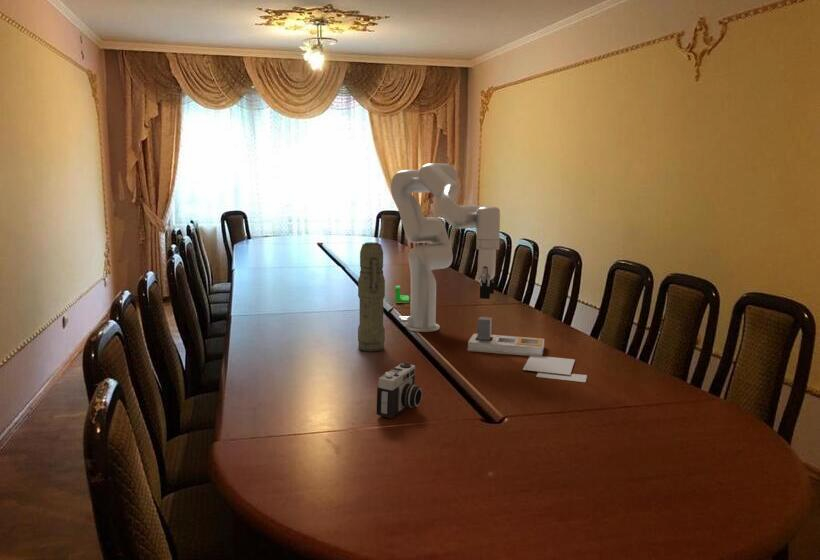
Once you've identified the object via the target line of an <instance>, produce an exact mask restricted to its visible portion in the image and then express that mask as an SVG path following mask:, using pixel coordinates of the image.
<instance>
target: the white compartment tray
mask: <svg viewBox="0 0 820 560" xmlns="http://www.w3.org/2000/svg"><path fill="white" fill-rule="evenodd" d="M544 349H545V338H540V337H539V338H538V337H525V336H515V335H499V334H491V341H481V340H478V333H473V334H472V336H470V338H469V340H468V343H467V351H468V352H479V353H489V354H491V353H492V354H499V355H501V354H503V355H512V356H513V355H514V356H527V357H530V355H536V356H543V354H544Z"/></svg>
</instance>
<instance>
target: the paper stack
mask: <svg viewBox="0 0 820 560" xmlns="http://www.w3.org/2000/svg"><path fill="white" fill-rule="evenodd" d="M575 362H576V359H573V358H563V357H553V356H545V355H544V356H543V355H542V356H536V355H530V356H528V359H527V360H526V363H525V364H524V366H523V367H522V370H523V371H531V372H537V374H536V376H535V377H536V378H544V379H552V380H560V381H561V380H562V381H570V382H578V383H580V382H581V383H586V382H587V378H588V374H579V373H572V371H573V367H574V364H575Z"/></svg>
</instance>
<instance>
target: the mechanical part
mask: <svg viewBox="0 0 820 560" xmlns="http://www.w3.org/2000/svg"><path fill="white" fill-rule="evenodd" d="M394 294H395V295H394V296H395V298H394V299H395V301H394V302H408V303H409V304H410V295H404V294H401V285H395V293H394Z"/></svg>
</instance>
